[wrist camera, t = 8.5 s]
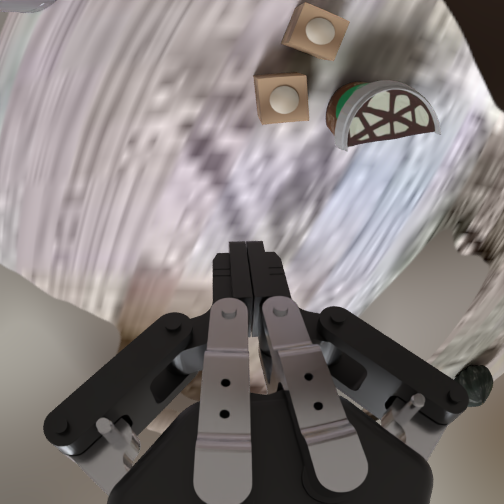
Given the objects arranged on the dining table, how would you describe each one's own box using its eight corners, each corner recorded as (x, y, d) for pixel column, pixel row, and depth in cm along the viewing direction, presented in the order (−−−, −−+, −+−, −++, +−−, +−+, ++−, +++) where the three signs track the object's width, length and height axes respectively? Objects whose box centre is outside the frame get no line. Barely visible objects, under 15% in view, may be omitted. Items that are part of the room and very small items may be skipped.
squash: (471, 395, 84) (497, 406, 70) (441, 404, 84) (467, 417, 69) (476, 358, 86) (504, 364, 71) (446, 364, 85) (475, 373, 70)
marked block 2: (295, 8, 28) (305, 1, 24) (334, 24, 29) (350, 21, 25) (280, 43, 30) (289, 42, 26) (320, 59, 32) (334, 60, 28)
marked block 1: (253, 75, 33) (257, 79, 28) (296, 72, 33) (306, 75, 28) (257, 115, 36) (262, 125, 31) (299, 111, 36) (309, 120, 31)
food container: (396, 68, 32) (441, 79, 24) (401, 112, 36) (444, 134, 28) (305, 80, 33) (331, 91, 25) (315, 127, 37) (341, 152, 29)
